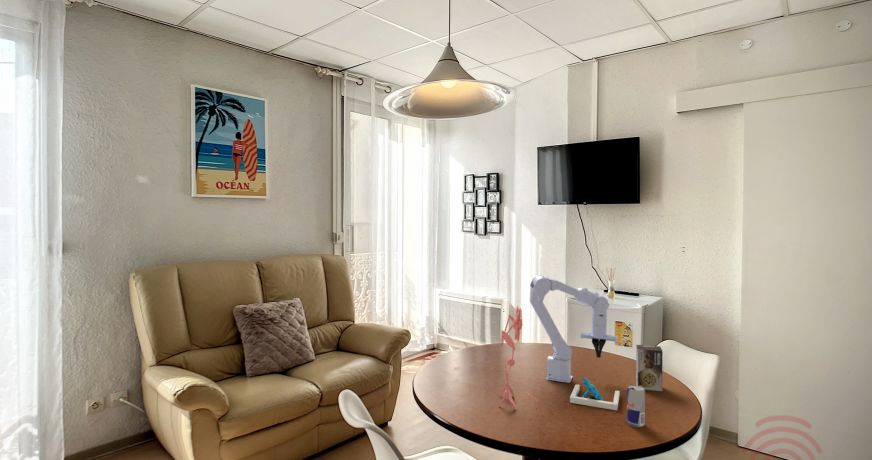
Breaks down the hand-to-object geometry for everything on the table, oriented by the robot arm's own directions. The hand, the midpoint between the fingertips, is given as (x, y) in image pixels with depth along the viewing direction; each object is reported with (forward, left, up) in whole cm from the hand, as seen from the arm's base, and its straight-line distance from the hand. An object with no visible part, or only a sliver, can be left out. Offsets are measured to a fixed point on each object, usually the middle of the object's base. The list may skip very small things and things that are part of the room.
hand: (598, 356), depth 190 cm
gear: (0, -22, -10) cm, 25 cm away
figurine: (-24, -38, -10) cm, 46 cm away
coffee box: (+19, -1, -10) cm, 21 cm away
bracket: (+1, -23, -9) cm, 24 cm away
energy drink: (+15, -38, -10) cm, 42 cm away
